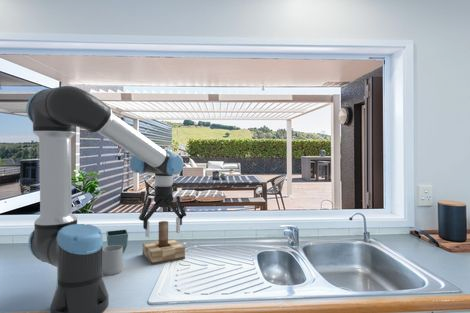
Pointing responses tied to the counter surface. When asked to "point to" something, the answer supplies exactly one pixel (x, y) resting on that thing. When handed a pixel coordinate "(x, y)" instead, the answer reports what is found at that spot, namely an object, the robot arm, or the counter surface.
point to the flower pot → (117, 238)
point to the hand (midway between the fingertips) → (163, 234)
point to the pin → (163, 234)
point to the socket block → (163, 252)
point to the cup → (112, 259)
